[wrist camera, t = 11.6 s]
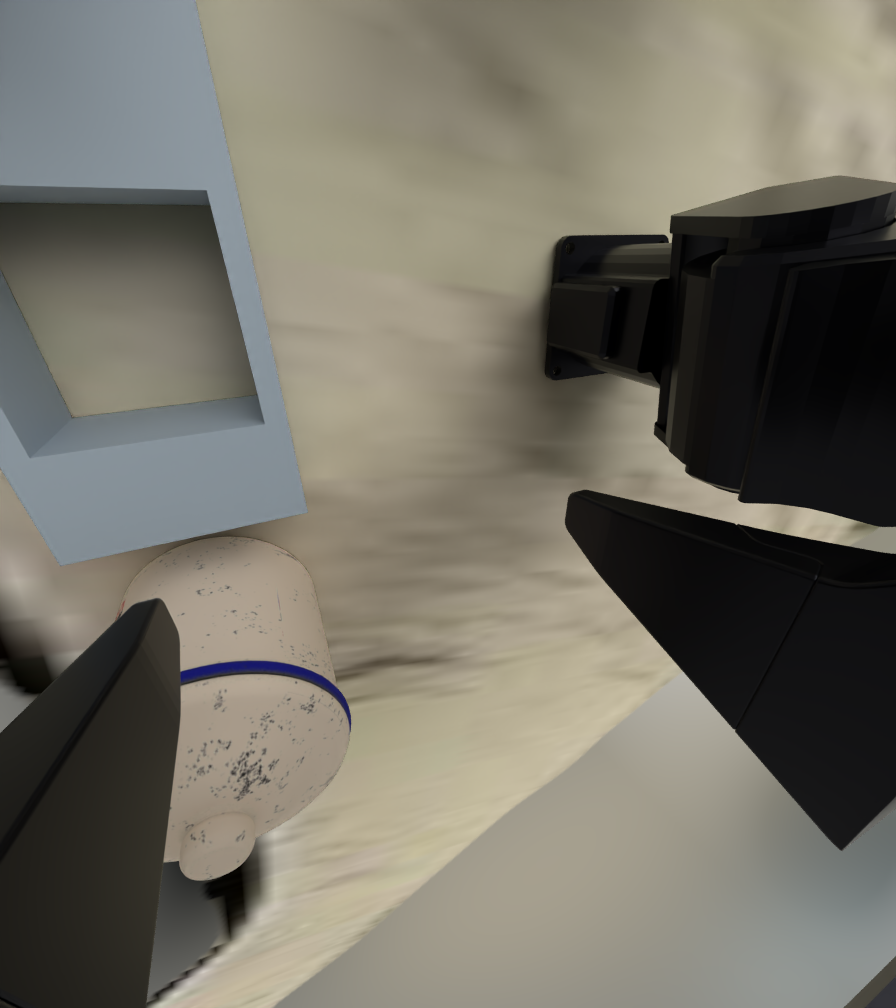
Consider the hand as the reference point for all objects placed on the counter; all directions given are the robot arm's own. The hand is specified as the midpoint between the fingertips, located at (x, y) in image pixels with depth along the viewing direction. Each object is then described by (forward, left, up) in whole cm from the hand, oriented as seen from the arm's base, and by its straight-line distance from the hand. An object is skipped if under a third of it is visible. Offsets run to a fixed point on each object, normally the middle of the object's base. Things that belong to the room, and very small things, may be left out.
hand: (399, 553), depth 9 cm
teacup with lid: (+6, +11, -12) cm, 17 cm away
